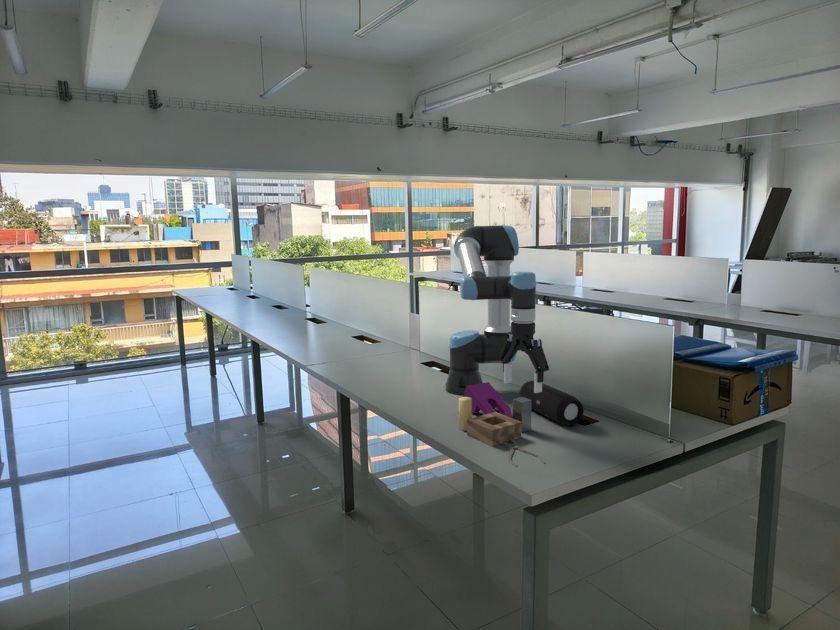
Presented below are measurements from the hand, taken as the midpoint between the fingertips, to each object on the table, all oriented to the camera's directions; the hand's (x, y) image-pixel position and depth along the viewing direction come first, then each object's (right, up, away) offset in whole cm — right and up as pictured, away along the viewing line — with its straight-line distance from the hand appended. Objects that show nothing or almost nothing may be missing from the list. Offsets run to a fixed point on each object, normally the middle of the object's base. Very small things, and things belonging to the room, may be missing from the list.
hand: (522, 387), depth 181 cm
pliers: (-5, -18, -16) cm, 24 cm away
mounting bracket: (-9, -12, +17) cm, 23 cm away
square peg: (0, -14, +3) cm, 14 cm away
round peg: (-18, -14, +4) cm, 23 cm away
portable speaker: (+12, -12, +15) cm, 23 cm away
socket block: (-9, -15, -3) cm, 18 cm away
